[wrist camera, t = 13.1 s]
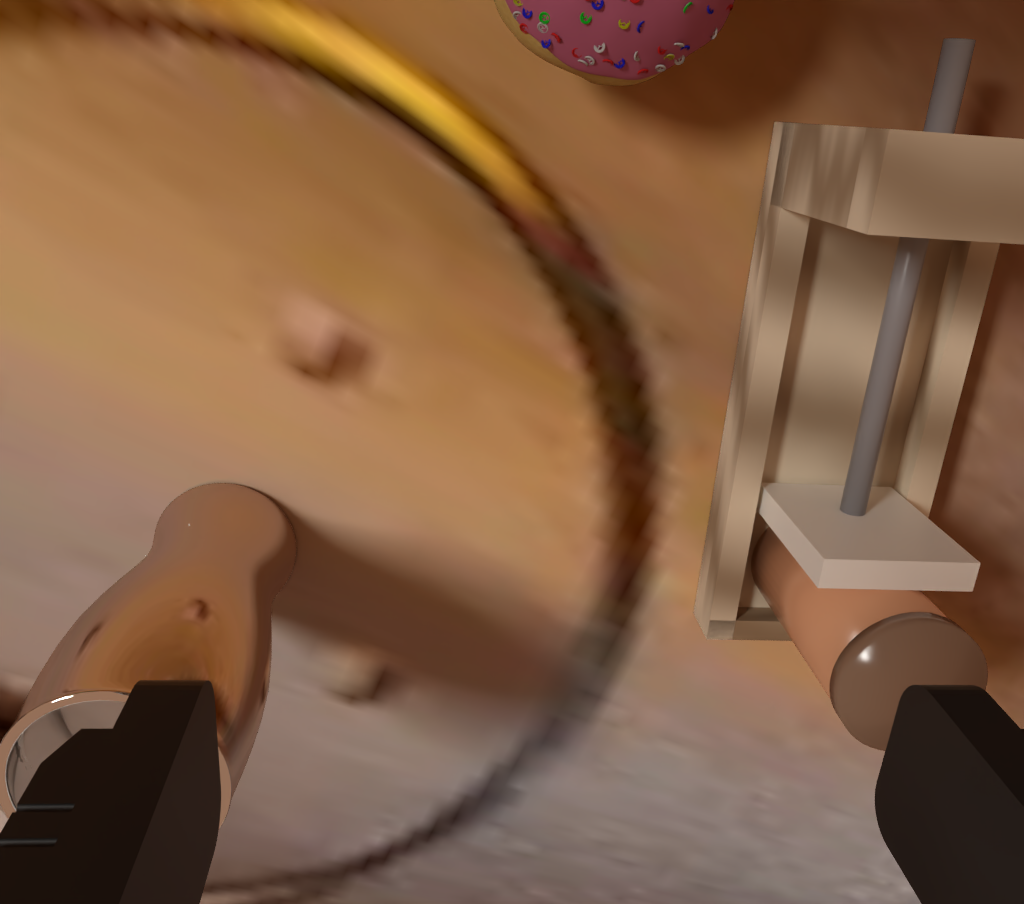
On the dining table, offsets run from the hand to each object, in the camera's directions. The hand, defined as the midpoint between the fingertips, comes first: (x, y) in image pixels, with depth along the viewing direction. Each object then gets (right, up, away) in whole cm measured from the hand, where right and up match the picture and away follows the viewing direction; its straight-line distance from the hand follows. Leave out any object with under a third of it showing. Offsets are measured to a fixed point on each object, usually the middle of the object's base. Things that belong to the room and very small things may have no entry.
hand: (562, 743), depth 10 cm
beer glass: (-13, -1, +29) cm, 32 cm away
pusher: (+14, +10, +26) cm, 31 cm away
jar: (+13, -2, +30) cm, 33 cm away
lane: (+13, +6, +29) cm, 32 cm away
